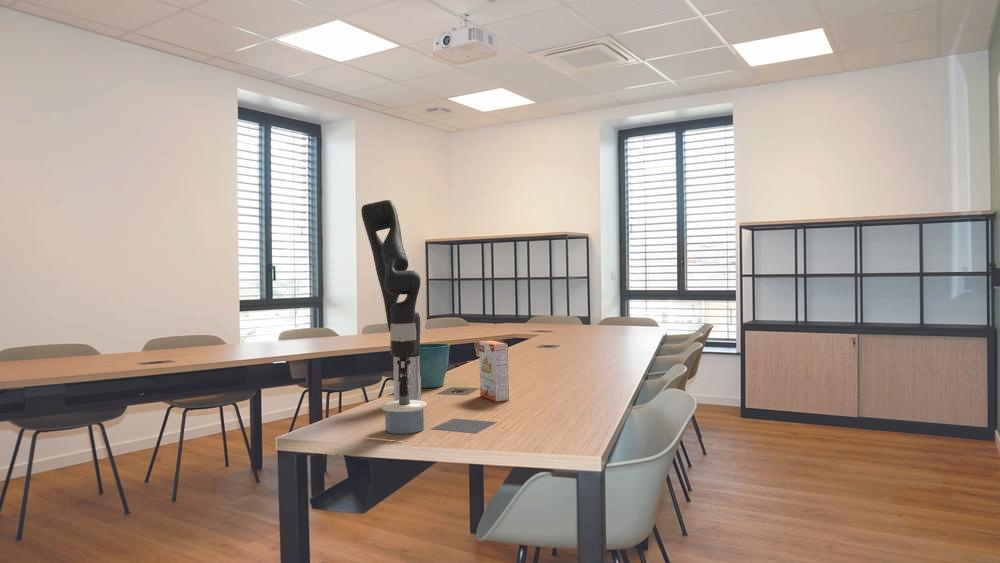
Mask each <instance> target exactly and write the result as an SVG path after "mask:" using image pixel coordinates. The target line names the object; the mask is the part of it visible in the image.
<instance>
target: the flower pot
mask: <svg viewBox="0 0 1000 563" xmlns="http://www.w3.org/2000/svg"><path fill="white" fill-rule="evenodd" d="M450 346H451V345H450V344H448V343H439V342H437V343H435V342H434V343H420V350H419V364H420V377H421V389H431V388H432V389H433V388H440V387H443V386H444V382H445V377H446V374H447V371H448V367H449V359H450Z"/></svg>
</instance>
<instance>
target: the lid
mask: <svg viewBox="0 0 1000 563" xmlns="http://www.w3.org/2000/svg"><path fill="white" fill-rule="evenodd" d="M407 388H408V395H407V396H404V397H401V396H400V385H399V400H397V401H394V400H391V401H387V402H384V403H382V404H381V410H382V411H384V412H385V411H389V412H411V411H418V410H422V409H423V410H425V409H427V407H428V406H427V405H428V403H427V402H426V401H424V400H421V401H420V400H410V385H407Z"/></svg>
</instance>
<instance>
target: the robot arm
mask: <svg viewBox="0 0 1000 563" xmlns="http://www.w3.org/2000/svg"><path fill="white" fill-rule="evenodd" d="M360 211H361V217H362V221H363V225H364V229H365V232H366V235H367V239H368V241H369V245H370V248H371V253H372V257H373V261H374V262H373V263H374V265H375V266H374V267H375V271H376V275H377V276H376V277H377V279H378V282H379V286H380V290H381V294H382V298H383V304H384V309H385V315H386V316H385V317H386V324H387V329H388V332H389V334H390V335H389V336H390V355H391V356H393V358H392V359H393V401H397V400H399V385H400V396H401V397H404V396H407V395H408V388H407V385H410V400H420V401H422V388H421V377H420V364H419V350H420V344H421V316H420V313H419V312H418V311H416V304H417V300H418V294H419V293H420V288H421V284H422V283H421V282H422V281H421V280H422V279H421V277H420V275H419V273H418V272H417V271H415V270H408V268H409V260H408V258H407V253H406V251H405V249H404V248H405V247H404V244H403V239H402V237H403V236H402V230H401V226H400V220H399V217H398V216H399V215H398V211H397V208H396V205H395V204H394V202H393V201H392V200H391V199H390V200H389V199H385V200H380V201H376V202H370V203H367V204H364V205H362V207H361V210H360ZM387 229H389V231H388V233H387V234H386V237H385V239H384V241H383V240H382V239H381V238H380V236H379V235H378V233H377V232H379V231H384V230H387ZM400 295H406V297H405V299H404V300H403V301H400V302H398V300H399V296H400Z"/></svg>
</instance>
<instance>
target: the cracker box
mask: <svg viewBox="0 0 1000 563" xmlns="http://www.w3.org/2000/svg"><path fill="white" fill-rule="evenodd" d="M478 345H479V346H478V350H479V351H478V352H479V385H480V386H479V388H480V389H479V390H480V391H479V392H480V394H479V395H480V397H483V398H485V399H488V400H490V401H492V402H495V403H499V402H507V401H510V392H509V391H510V386H509V382H510V381H509V380H510V379H509V378H510V377H509V344H508V343H504V342H500V341H496V340H479V341H478Z"/></svg>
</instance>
